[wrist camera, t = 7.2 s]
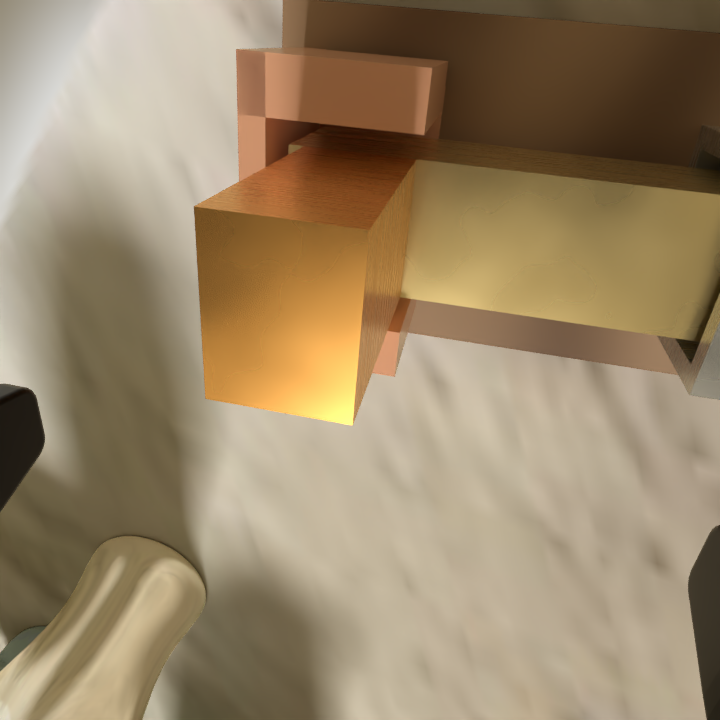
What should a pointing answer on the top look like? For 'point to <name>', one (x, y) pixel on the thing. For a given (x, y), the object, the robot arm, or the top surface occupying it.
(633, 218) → the wooden blocks
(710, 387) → the steel sleeve
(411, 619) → the top surface
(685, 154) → the walnut board
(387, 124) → the terracotta socket
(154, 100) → the top surface
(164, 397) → the top surface
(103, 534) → the top surface
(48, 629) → the beer glass
